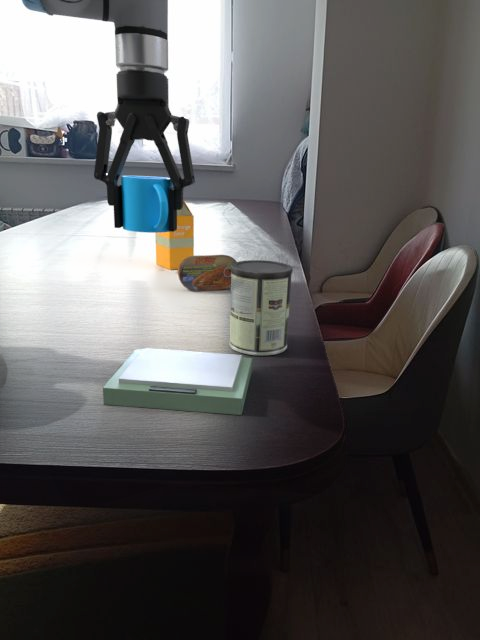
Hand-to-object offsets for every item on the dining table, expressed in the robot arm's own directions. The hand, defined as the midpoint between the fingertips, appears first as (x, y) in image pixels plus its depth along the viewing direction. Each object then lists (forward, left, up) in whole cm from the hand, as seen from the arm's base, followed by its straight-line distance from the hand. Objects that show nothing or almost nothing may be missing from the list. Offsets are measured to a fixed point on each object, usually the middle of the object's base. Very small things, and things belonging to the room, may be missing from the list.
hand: (146, 228), depth 84 cm
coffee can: (+19, 0, -19) cm, 27 cm away
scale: (+10, -19, -19) cm, 29 cm away
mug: (+1, 0, 0) cm, 1 cm away
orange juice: (-10, +61, -19) cm, 65 cm away
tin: (+4, +37, -19) cm, 42 cm away
